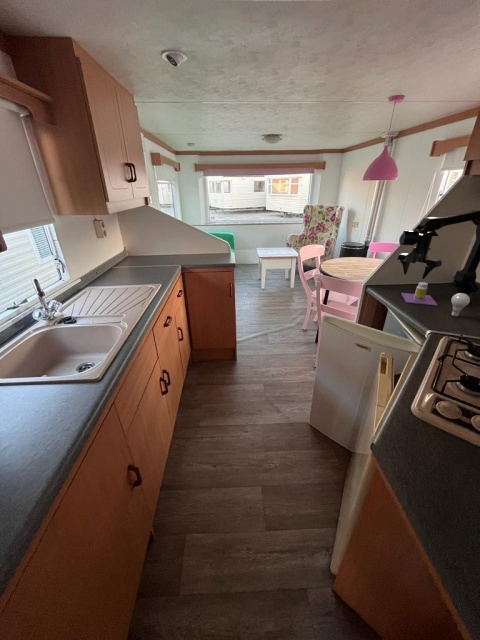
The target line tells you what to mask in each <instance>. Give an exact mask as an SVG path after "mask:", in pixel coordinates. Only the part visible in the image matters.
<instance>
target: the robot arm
mask: <svg viewBox="0 0 480 640" xmlns="http://www.w3.org/2000/svg"><path fill="white" fill-rule="evenodd" d="M466 222H472V224H473V225H475V226H476V227H475V240H474V243H473V245H472V248H471V250H470V252H469V254H468V256H467V259H466V261H465V264H464V266H463V268H462V269H460V270H456V271H455V275H454V276H453V279H454V280H453V282H454V283H455V287H456V288H458V289H457V292H456V294H458V293H464V294H466V295H468V296H469V298H470V299H471V296H472V294H474V293H477V292H478V291H479V290H480V288H479V287H478V285H477V284H476V280H477V269H478V267H479V265H480V210H479V209H472V210H470V211H464V212H459V213H455V214H451V215H446V216H429V217H424V218H422V219H421V221H420V222H419V224H418V225H417V226H416V227H415V228H413V230H407V229H404V230H403V232H402V233H401V235H400V236H399V240H398V244H399V246H414V247H413V248H412V251H410V252H408V253H406V252H404V253H399V254H398V255H397V256H396V260H397V261H399V263H401V265H402V269H403V275H407V273H408V271H409V268H410V265H411V264H416V263H417V262H418V263H423V264H425V266H424V271H423V274H422V278H421V279H422V280H425V279H426V277H427V276H428V275H429V274H430V273H431V272H432V271H433V270H434V269H436V268H439V267H441V266H442V265H443V261H442V259H438V258H430V259H428V258H429V256H428V253H429V251H431V247H430V246H431V244H432V240H433V237H439V234H438V233H437V230H440V229H442V228H444V227H447V226H451V225H457V224H461V223H466ZM470 304H471V301H470V302H469V304H468V305H470Z"/></svg>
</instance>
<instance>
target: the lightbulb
mask: <svg viewBox="0 0 480 640" xmlns="http://www.w3.org/2000/svg"><path fill="white" fill-rule="evenodd" d="M450 299H451V300H450V303H451V305H452V311H451V314H450V315H451V316H453V317H459V315H460V313H461V311H462V310H463V309H464V308H465V307H467V306H468V305H470V304H469V302H470V303H471V297H470V298H469V296H468V295H466V294H464V293H458V294H457V293H456V294H454V295H453V296H452V297H451V298H450Z"/></svg>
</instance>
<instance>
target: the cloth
mask: <svg viewBox="0 0 480 640" xmlns="http://www.w3.org/2000/svg"><path fill="white" fill-rule="evenodd" d="M400 294H401V296H402V299H403V300H404V301H405V303H406V304H414V305H415V304H416V305H424V306H425V305H427V306H435V307H439V305H438V303H437V301H436V300H435V299H434V298H433V297H432V296H431V295H430V294H426V295H425V298H424V300H417V299H415V298H414V295H415V293H408V292H401V293H400Z"/></svg>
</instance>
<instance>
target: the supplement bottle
mask: <svg viewBox="0 0 480 640" xmlns="http://www.w3.org/2000/svg"><path fill="white" fill-rule="evenodd" d="M428 286H429V282H424V281H420V282H418V285H417V286H416V289H415V292H414V294H415V295H414V298H415V299H417V300H424V298H425V295H427V292H428Z"/></svg>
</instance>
